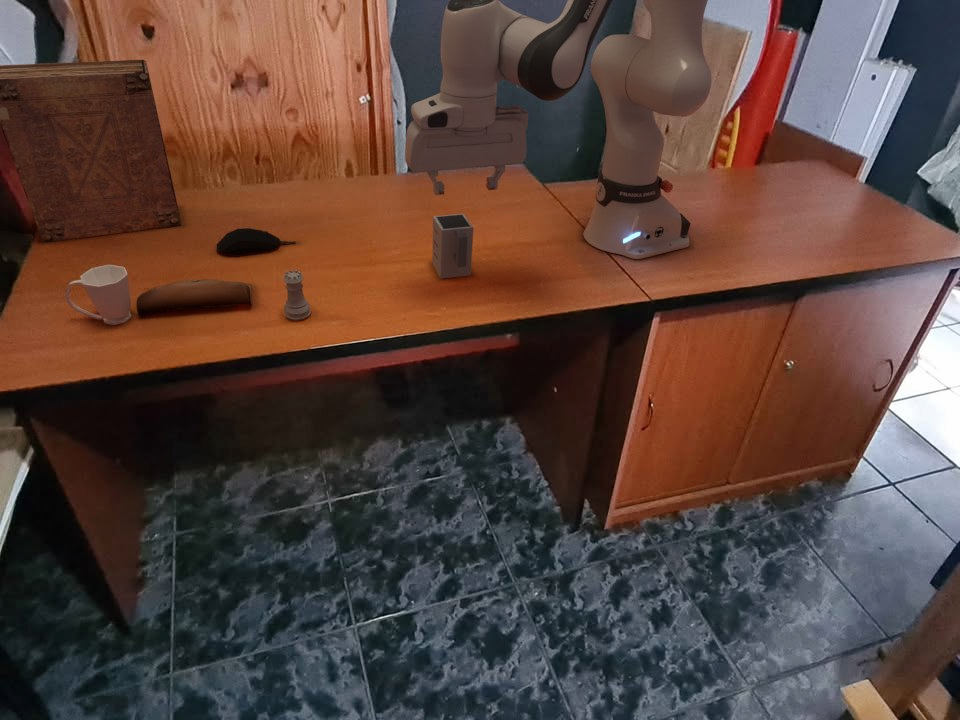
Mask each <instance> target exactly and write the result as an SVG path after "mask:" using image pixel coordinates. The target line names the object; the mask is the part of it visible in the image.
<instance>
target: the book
mask: <svg viewBox="0 0 960 720" xmlns="http://www.w3.org/2000/svg"><path fill="white" fill-rule="evenodd" d="M158 113H159V112H158V108H157V104H156V99H155V95H154V90H153V85H152V81H151V76H150V72H149V67H148V62H147V60H144V59H129V60H128V59H127V60H125V59H124V60H103V61H100V60H99V61H76V62H74V61H73V62H72V61H71V62H51V63H50V62H49V63H24V64H23V63H22V64H0V128H1V131H2V134H3V137H4V139H5V142H6V144H7V147H8V150H9V153H10V156H11V159H12V162H13V164H14V167H15V169H16V173H17V175H18V178H19V180H20V183H21V186H22V189H23V191H24V192H23V193H24V195H25V197H26V200H27V202H28V205H29V208H30V211H31V214H32V216H33V219H34V222H35V224H36V228H37V231H38V233H39V235H40V238H41V241H42V242H43V243H51V242H58V241H59V242H60V241H67V240H76V239H84V238H91V237H92V238H93V237H100V236H107V235H115V234H123V233H131V232H132V233H133V232H139V231H147V230H155V229H163V228H170V227H178V226H179V227H180V226H182V221H181V215H180V209H179V205H178V200H177V195H176V191H175V187H174V182H173V178H172V173H171V168H170V164H169V158H168V155H167V150H166V145H165V141H164V136H163V132H162V127H161V122H160V118H159V114H158Z"/></svg>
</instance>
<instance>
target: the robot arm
mask: <svg viewBox="0 0 960 720" xmlns="http://www.w3.org/2000/svg"><path fill="white" fill-rule="evenodd" d="M613 1H614V0H567V2H566V4H565V6H564V8H563V10H562V12H561V14H560V15H559V16H558V18H557V19H555V20H553V21H552V22H550V23H547V22H545V21H544V22H543V21H541V20H538V19H536V18H533V17H530V16H528V15H525V14H522V13H520V12H518V11H515V10H513V9H511V8H509V7H508V6H506V5H505V4H503V3H502V2H501V1H500V0H449V1H448V3H447V4H446V7H445V10H444V13H443V17H442V23H441V24H442V26H441V35H440V36H441V37H440V63H441V66H442V79H441V82H440V92H439V93H436V94H434V95H432V96H430V97H427V98H425V99H422V100H420V101H417V102H414V103H413V104H412V105H411V107H410V113H411V117H412V118H413V120H412V121H411V122H410V123H409V125H408V127H407V130H406V135H405V143H404V144H405V145H404V161H405V164H406V165H407V167H408V169H410V170H411V171H412V172H413V173H424V172H426V173H427V175H428V177H429V178H430V180H431V182H432V188H433V189H432V190H433V194H434V196H441V195H445V184H444V183H443V181H442V180H440V181H439V180H438V179H437V178H436V177H438V176H439V171H448V170H449V171H450V170H462V169H475V168H485V167H494V170H493V172H492V174H491V176H487V177H486V184H485V187H486V189H487V190H488V191H494V190H495V191H497V190H498V187H499V185H498V184H499V180H500V179H501V177H502V176H503V174H504V173H505V171H506V166H509V165H521V164H522V163H524V161H525V160H526V158H527V148H528V147H527V133H526V131H527V129H528V126H529V113H528V111H527V110H526V109H524V108H522V106H520V105H512V106H497V99H498V84H499V83H500V81H507V82H509V83H511V84H514V85H516V86H518V87H520V88H522V89H524V90H525V91H526V92H528V93H530V94H531V95H533V96H534V97H536V98H538V99H539V100H541V101H545V102H553V101H556V100H559V99H561V98H563V97H565V96H566V95H567V94H569V93H570V92H571V91H572V90H573V89H574V88H575V87H576V86H577V85H578V83H579V81H580V80H581V78H582V75H583V73H584V69H585V67H586V64H587V60H588V57H589V53H590V51H591V47H592V45H593V44H594V40H595V38H596V36H597V34H598V32H599V30H600V29H601V26H602V24H603V21H604V19H605V18H606V16H607V13H608V12H609V9H610V7H611V4H613ZM708 1H709V0H642V3H643V5H644V7H645V9H646V10H647V12H648V14H649V17H650V23H651V27H650V29H651V31H650V38H649V39H648V38H646V37H645V38H644V37H643V36H639V35H636V34H626V33H625V34H620V33H619V34H611V35H608V36H606V37H604V38H603V39H602V40H601V41H600V42H599V43H598V44H597V46H596V48H595V50H594V52H593V54H592V56H591V61H590V74H591V76H592V79H593V80H594V82H595V84H596V86H597V88H598V90H599V92H600V95H601V100H602V104H603V107H604V108H603V109H604V113H605V114H604V116H605V125H606V136H605V137H606V139H605V147H604V154H603V160H602V168H601V169H600V170H599V173H598V178H597V183H596V189H595V202H594V205H593V208H592V212H591V215H590V217H589V220H588V222H587V225H586V227H585V228H584V230H583V233H582V234H583V235H582V236H583V238H584V240H585V241H586V242H587V243H588V244H590V245H591V246H593V247H594V248H596V249H597V250H601V251H603V252H607V253H611V254H617V255H622V256H624V257H627V258H630V259H632V260H641V259H646V258H649V257H650V258H651V257H654V256H659V255H661V254H666V253H671V252H674V251H678V250H682V249H686V248H688V247H689V246H690V238H689V236H688V234H689V231H690V227H691V221H689V220H688V219H687V218H686V217H685V215H683V214H682V213H681V212H680V211H679V210H678V209H677V208H676V206H675V205H674V204H672V203H671V201H669V200H668V199H667V198H666V197H665V196H664V195H663V194H662V191H663V192H664V193H666V194H669V193H671V192H672V191H673V189H674V185H673V183H671V182H669V180H667V179H664V180H663V178H662V177H661V176H659V170H660V165H661V161H662V156H663V152H664V147H665V138H664V135H663V132H662V131H661V129H660V128H659V125H658V124H657V120H656V118H655V114H654V113H657V114H658V115H663V116H669V117H678V118H686V117H689V116H691V115H693V114H695V113H696V112H697V111H699V109H701V108H702V106H703V105H704V103H705V102H706V101H707V98H708V97H709V94H710V92H711V88H712V72H711V68H710V66H709V65H708V62H707V60H706V57H705V53H704V48H703V24H704V23H703V22H704V17H705V11H706V8H707V6H708V5H707V4H708Z"/></svg>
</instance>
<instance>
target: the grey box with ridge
mask: <svg viewBox="0 0 960 720" xmlns="http://www.w3.org/2000/svg"><path fill="white" fill-rule="evenodd" d="M473 242H474V226H473V225H472V223H471V221H470V220H469V219H468V218H467V216H466V215H465V213H457V214H455V213H453V214H445V215H443V214H442V215H434V216H432V257H431V258H432V263H431V264H432V266H433V267H434V269H435V271H436V273H437V274H438V277H439V278H440V279H441V280H442V279H451V278H459V277H467V276H471V275H472V264H473V263H472V262H473V261H472V260H473V245H474V244H473Z"/></svg>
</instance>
